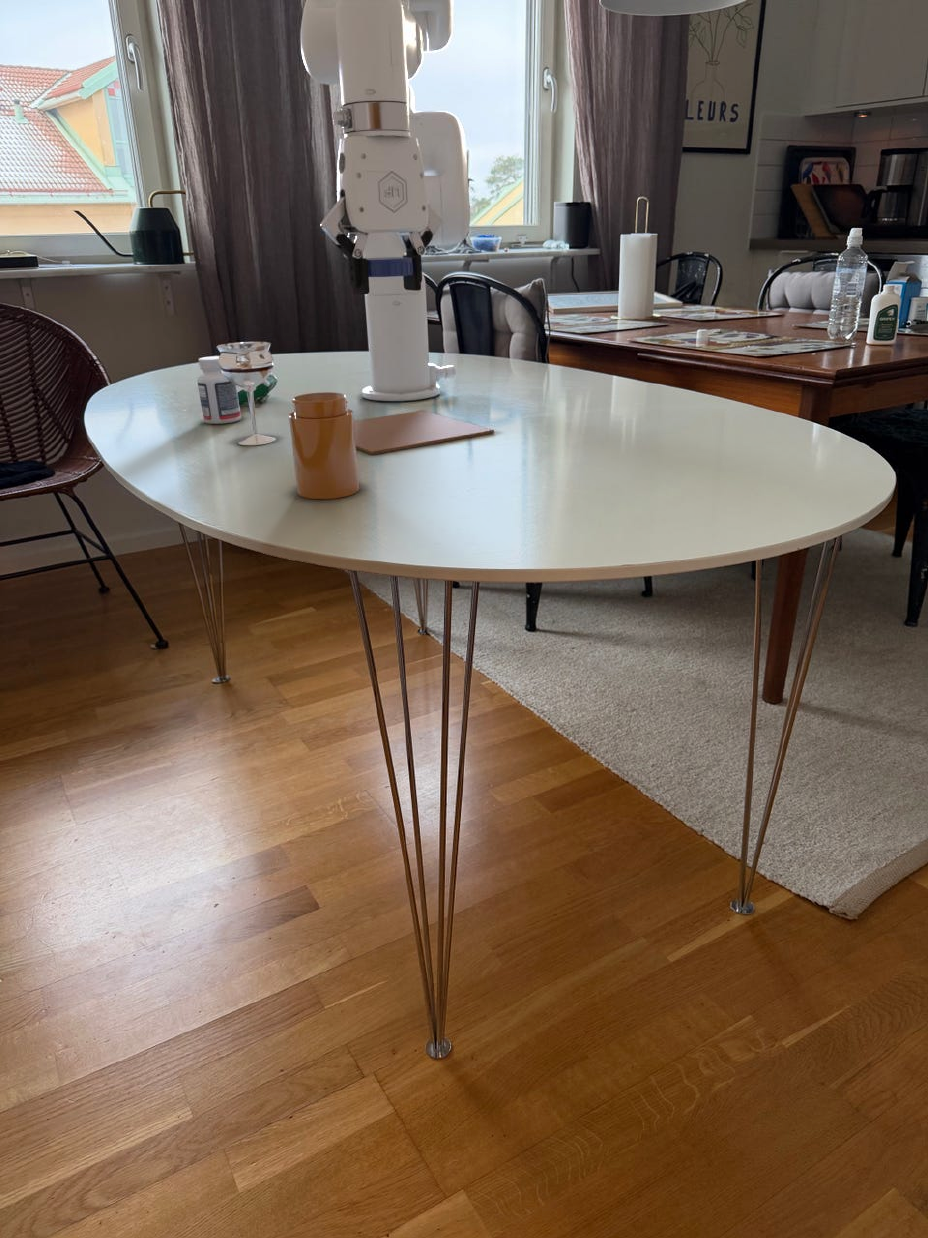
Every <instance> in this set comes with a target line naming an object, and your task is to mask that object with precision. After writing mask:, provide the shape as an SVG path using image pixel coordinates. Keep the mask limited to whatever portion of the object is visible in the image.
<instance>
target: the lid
mask: <svg viewBox="0 0 928 1238" xmlns="http://www.w3.org/2000/svg"><path fill="white" fill-rule="evenodd" d="M366 259H367V262H368V275H369V277H395V276H408V275H413V274H414V273H413V262H412V258H411V257H385V258H366Z"/></svg>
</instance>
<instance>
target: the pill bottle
mask: <svg viewBox="0 0 928 1238" xmlns="http://www.w3.org/2000/svg"><path fill="white" fill-rule="evenodd" d="M219 356H220V355H213V356H203V357H200V358H198V366H199V369H200V370H201V374H199V375H198V376H197V380H196V381H197V387H198V393H199V400H200V405H201V412H202V417H203V422H204V423H205V424H208V425H224V424H231V423H236V422H238V421H240V420H241V419H242V415H241V408H240V407H241V406H239V400H238V394H237V392H238V386H237V385H235V384H233V383H231V382H230V381H229V380H228V379H227V378H226V377H224V376H223V374H222V372H221V370H220V367H219V363H218V362H219Z"/></svg>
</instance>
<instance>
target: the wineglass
mask: <svg viewBox="0 0 928 1238" xmlns="http://www.w3.org/2000/svg"><path fill="white" fill-rule="evenodd" d="M271 344H272V343H271V342H268V341H240V342H239V341H238V342H229V343H223V344H218V345H217V346H216V349H217V350H218V351H219V353H220V354H219V355H218V356H219V362H218V363H219V367H220V370H221V372H222V374H223V376H224V377H226V378H227V379H228V380H229V381H230V382H231V383H233V384H235V385H236V387H239V388H242V390H244V391H247V396H248V401H249V403H248V406H249V414H250V418H251V423H252V424H251V425H252V430H253V434H251V435H249V436H245V437H244V438H241V439H239V440H237V441H236V443H237V444H238V445H243V446H259V445H266V444H270V443H273V442H275V441H277V440H276V437H273V436H270V435H264V434H260V433H258V430H257V417H256V408H255V401H254V395H253V391H255V390H256V386H258V385H260V384H261V383H263V382H264V381H266V379H267V378H268V377H269V375H270V374H271V373H272V374H273V369H274V358H273V355H272V354H271V352H270V347H271Z"/></svg>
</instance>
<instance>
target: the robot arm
mask: <svg viewBox="0 0 928 1238" xmlns="http://www.w3.org/2000/svg"><path fill="white" fill-rule="evenodd" d="M300 24H301V25H300V51H301V57H302V60H303V65H304V66H305V69H306V71H307V73H308V74H309V76H310V77H311V78H312V80H314V81H315V82H317V83H319V84H321V85H327V86H329V85H340V95H341V106H340V110H339V111H333V113H332V122H333V124H334V126H340V127H341V128H342V133H343V134H344V137H342V138H340V139H339V144H338V154H337V155H338V156H337V170H336V173H337V174H336V191H337V192H336V196H337V201H336V203H335V204H334V205H333V207H332V208H331V209H330V211H329V212H328V213H327V214H326V216H325V217H324V218H323V219H322V221H321V222H320V229H321V230H322V231H323V232H324V233H325V234H326V235H327V236H328V238H329V239H330V240H331V241H332V243H333V244H334V245H335V246H336V248H338V249H339V250H340V252H341V253H342V254H343V257H344V258H346V259H347V264H348V278H349V285H350V287H351V288H352V293H353V294H354V295H362V296H363V295H364V303H365V304H364V305H365V314H366V315H365V317H366V329H367V330H366V331H367V344H368V357H369V369H370V384H371V385H368V386H365V387H364V388H362V398H364V399H367V400H371V401H379V402H407V401H408V402H409V401H418V400H419V401H420V400H424V399H430V398H433V397H436V396H438V395H440V393H441V386H440V385H439V384H437V382H439V381H440V380H441V379H445V380H446V379H451V378H452V379H453V378H455V377H456V375H457V374H456V373H457V371H456V368H455V365H444V366H442V367H440V366H437V365H436V364H434V363H430V353H429V352H430V351H429V350H430V349H429V330H428V309H427V285H426V278H425V275H424V272H423V268H422V265H423V263H422V256H423V255H425V253H426V249H427V247H437V246H438V247H439V246H440V247H441V246H452V245H456V244H460V243H461V242H463V241H464V240H465V239H466V238H467V235H468V233H469V230H470V226H471V225H470V224H471V203H470V190H469V176H468V173H469V172H468V159H467V148H466V147H467V146H466V138H465V133H464V128H463V126H462V123H461V122H460V120H459V118H458V117H457V116H456V115H454V114H453V113H451V112H450V111H449V112H448V111H441V110H434V111H433V110H430V111H429V110H428V111H418V110H417V111H416V110H415V95H414V90H413V88H412V86H411V84H410V83H409V81H410V80H412V79H413V78H414V77H416V75H417V74H418V72H419V70H420V67H421V66H422V64H423V61H424V55H425V54H424V53H436V52H441V51H443V50H444V49H446V48H447V47H448V45H449V44H450V42H451V39H452V35H453V29H454V0H305V3H304V8H303V12H302V17H301V23H300ZM339 226H340V227H339ZM341 229H342V230H343V231H344V232H346V233H348V234H347V235H346V234H345V233H344V232H343V231H342V230H341ZM385 257H411V258H412V262H413V273H414V274H413V275H408V276H395V277H369V275H368V262H367V259H366V258H385Z"/></svg>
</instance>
